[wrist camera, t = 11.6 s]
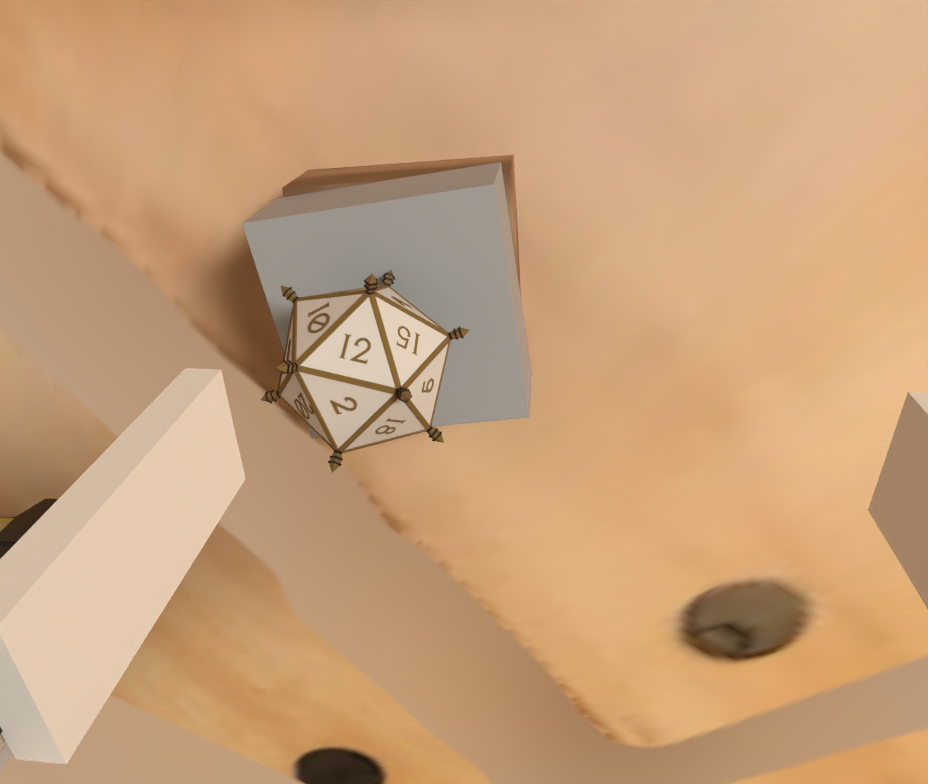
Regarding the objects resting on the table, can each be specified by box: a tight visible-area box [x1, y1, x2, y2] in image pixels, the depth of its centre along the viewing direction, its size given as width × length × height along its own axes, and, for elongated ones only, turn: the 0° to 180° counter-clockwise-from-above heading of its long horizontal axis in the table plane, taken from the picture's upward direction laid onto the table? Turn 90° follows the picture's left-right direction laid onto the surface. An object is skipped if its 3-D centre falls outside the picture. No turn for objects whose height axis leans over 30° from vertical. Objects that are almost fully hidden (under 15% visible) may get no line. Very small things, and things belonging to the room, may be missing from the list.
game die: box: [261, 269, 469, 472], centre depth 31 cm, size 9×8×10 cm
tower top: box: [242, 162, 532, 438], centre depth 37 cm, size 12×12×5 cm
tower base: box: [282, 155, 521, 297], centre depth 41 cm, size 12×12×5 cm
